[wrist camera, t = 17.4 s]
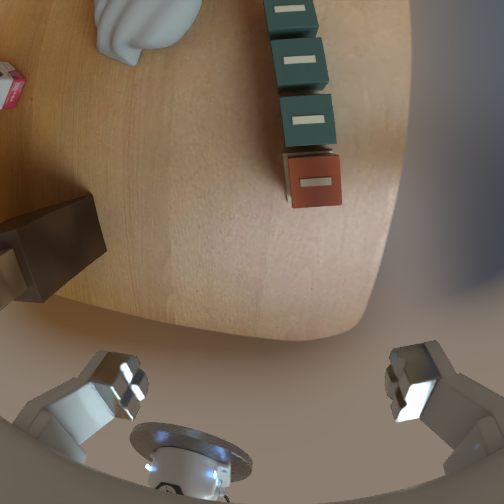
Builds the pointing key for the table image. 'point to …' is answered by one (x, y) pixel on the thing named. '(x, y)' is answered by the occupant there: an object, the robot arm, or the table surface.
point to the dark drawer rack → (47, 249)
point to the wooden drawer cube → (315, 180)
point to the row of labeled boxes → (300, 76)
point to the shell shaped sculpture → (141, 25)
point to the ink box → (10, 85)
